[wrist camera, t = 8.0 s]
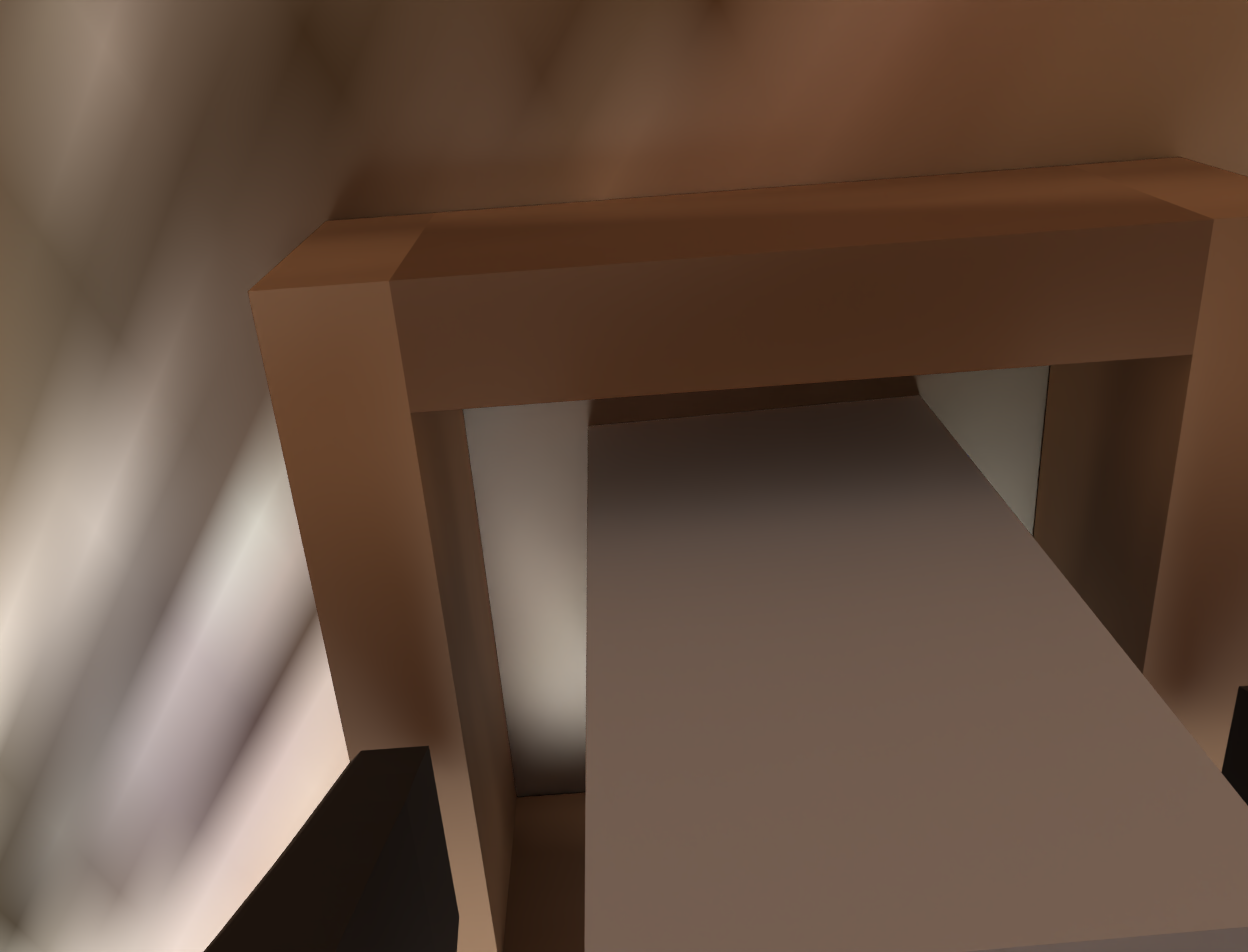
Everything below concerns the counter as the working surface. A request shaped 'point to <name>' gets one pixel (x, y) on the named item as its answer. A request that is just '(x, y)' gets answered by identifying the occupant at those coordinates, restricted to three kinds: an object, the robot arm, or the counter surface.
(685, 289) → the frame
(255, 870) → the counter surface
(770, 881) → the slate peg
